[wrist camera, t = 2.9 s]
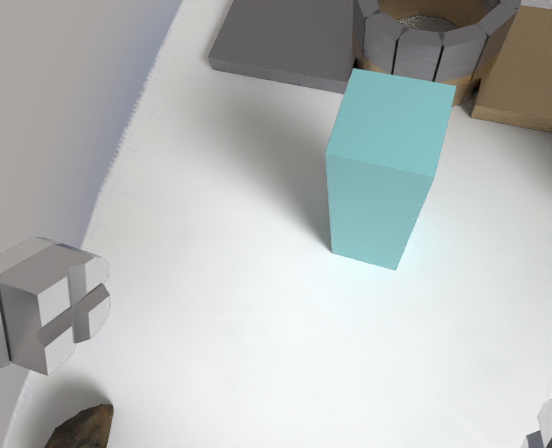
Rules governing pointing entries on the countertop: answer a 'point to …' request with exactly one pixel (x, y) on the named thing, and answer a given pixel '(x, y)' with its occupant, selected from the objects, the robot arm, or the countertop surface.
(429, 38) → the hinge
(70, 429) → the hand tool
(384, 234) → the teal square block
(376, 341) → the countertop surface
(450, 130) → the countertop surface
